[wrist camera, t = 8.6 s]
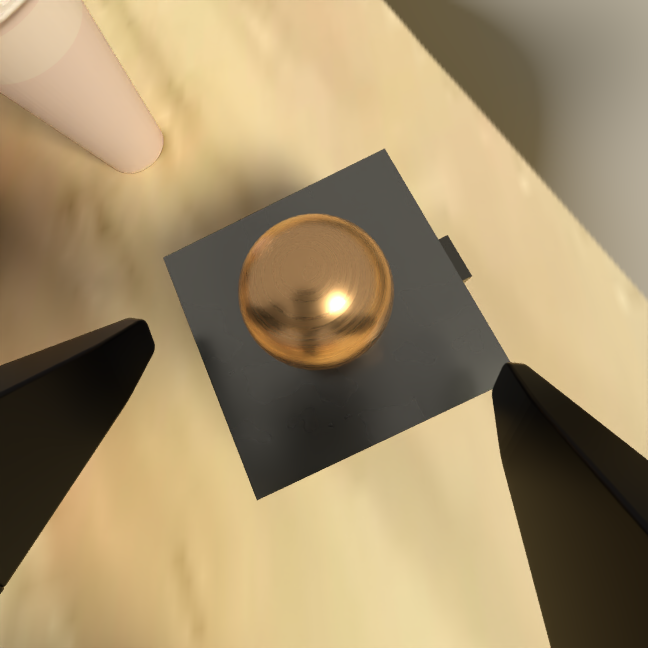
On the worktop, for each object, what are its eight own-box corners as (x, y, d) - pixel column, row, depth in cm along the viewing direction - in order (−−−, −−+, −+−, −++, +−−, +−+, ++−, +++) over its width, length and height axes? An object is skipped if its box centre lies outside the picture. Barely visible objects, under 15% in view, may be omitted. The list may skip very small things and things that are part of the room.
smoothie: (83, 112, 21) (-468, -422, 7) (179, 88, 20) (-203, -536, 6) (87, 204, 19) (-566, -217, 6) (190, 180, 19) (-250, -340, 5)
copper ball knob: (306, 422, 15) (219, 491, 6) (256, 308, 16) (115, 209, 7) (424, 365, 15) (536, 341, 5) (365, 255, 16) (375, 79, 7)
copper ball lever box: (294, 464, 16) (247, 525, 9) (226, 300, 17) (144, 251, 11) (471, 380, 16) (555, 380, 9) (383, 223, 17) (399, 125, 11)
